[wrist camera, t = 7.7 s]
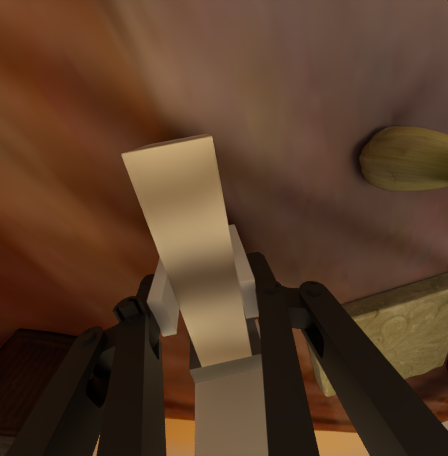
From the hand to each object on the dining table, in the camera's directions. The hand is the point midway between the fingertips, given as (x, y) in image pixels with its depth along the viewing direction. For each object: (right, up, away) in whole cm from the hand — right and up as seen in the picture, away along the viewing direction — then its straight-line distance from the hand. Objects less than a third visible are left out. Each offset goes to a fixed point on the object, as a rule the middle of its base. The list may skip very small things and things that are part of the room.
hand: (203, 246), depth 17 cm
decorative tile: (+24, -15, +15) cm, 32 cm away
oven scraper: (0, 0, 0) cm, 0 cm away
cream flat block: (+2, -12, +10) cm, 16 cm away
